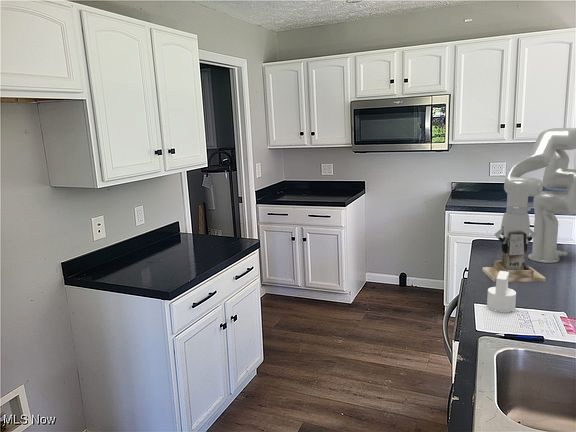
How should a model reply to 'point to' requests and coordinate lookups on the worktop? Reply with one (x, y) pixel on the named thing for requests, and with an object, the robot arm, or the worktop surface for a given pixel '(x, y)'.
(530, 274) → the holder
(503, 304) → the cylinder with rectangular tab
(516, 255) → the coffee box
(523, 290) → the worktop surface
